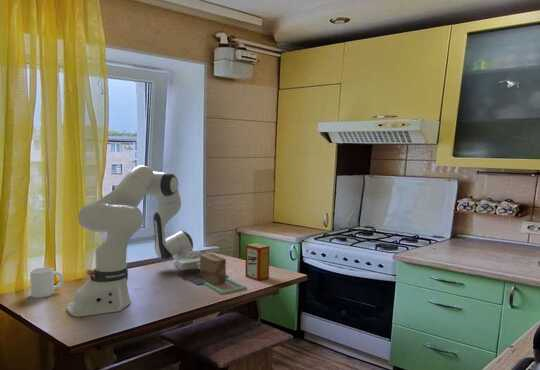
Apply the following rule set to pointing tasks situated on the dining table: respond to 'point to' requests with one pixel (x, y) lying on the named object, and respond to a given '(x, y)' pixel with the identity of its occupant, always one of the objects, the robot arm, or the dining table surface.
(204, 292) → the dining table surface
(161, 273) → the dining table surface
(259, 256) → the baking soda box
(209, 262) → the walnut block
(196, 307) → the dining table surface
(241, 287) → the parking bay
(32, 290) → the mug
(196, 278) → the trap mat left
